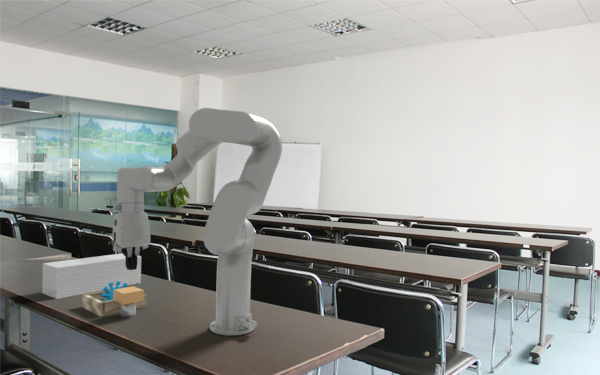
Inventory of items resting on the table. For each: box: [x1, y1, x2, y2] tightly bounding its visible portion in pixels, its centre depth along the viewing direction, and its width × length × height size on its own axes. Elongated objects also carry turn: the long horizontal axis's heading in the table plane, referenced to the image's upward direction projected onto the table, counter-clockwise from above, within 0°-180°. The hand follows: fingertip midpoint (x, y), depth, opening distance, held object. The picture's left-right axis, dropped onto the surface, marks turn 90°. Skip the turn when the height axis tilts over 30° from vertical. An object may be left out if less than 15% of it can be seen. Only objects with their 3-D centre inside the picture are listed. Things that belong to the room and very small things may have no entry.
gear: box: [101, 281, 129, 301], centre depth 146 cm, size 11×6×10 cm
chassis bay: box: [81, 286, 148, 318], centre depth 144 cm, size 13×15×4 cm
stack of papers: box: [41, 253, 142, 300], centre depth 168 cm, size 32×11×11 cm, turn 143°
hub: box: [113, 286, 145, 305], centre depth 137 cm, size 6×6×3 cm
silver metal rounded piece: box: [119, 302, 137, 318], centre depth 137 cm, size 4×4×6 cm
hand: (131, 269), depth 136 cm, fingers closed
